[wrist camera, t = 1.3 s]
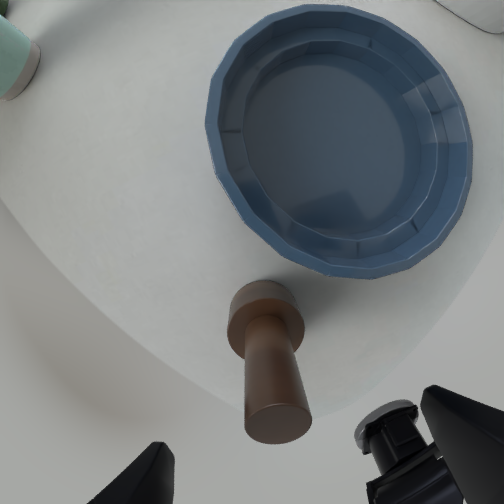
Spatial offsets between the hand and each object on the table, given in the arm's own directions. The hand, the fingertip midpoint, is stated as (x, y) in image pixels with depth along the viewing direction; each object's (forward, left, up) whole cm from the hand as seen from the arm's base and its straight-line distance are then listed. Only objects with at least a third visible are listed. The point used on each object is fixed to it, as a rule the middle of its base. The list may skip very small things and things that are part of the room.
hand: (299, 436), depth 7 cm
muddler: (0, +1, -11) cm, 11 cm away
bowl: (+10, -6, -11) cm, 16 cm away
